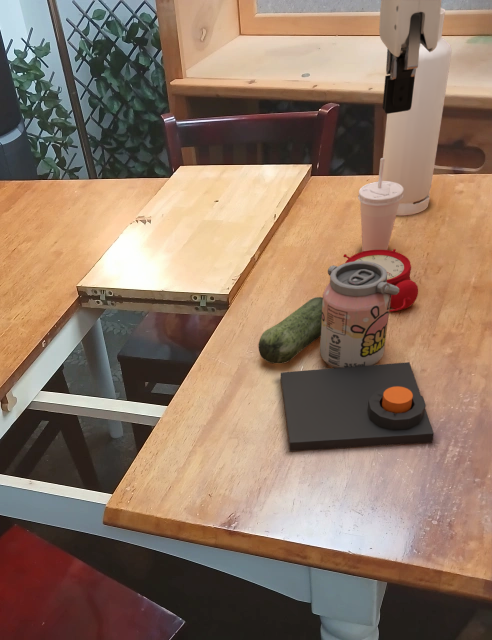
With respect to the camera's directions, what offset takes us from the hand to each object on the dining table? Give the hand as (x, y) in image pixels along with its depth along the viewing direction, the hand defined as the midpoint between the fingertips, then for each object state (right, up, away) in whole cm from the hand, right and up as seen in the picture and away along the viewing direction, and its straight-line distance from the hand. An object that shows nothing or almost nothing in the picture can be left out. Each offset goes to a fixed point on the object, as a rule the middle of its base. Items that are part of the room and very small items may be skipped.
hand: (396, 109), depth 94 cm
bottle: (+13, +1, +31) cm, 34 cm away
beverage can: (-4, -31, +4) cm, 31 cm away
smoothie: (+5, -11, +22) cm, 25 cm away
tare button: (-3, -39, -8) cm, 40 cm away
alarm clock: (+2, -20, +13) cm, 24 cm away
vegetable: (-11, -29, +8) cm, 32 cm away
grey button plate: (-7, -39, -4) cm, 40 cm away
